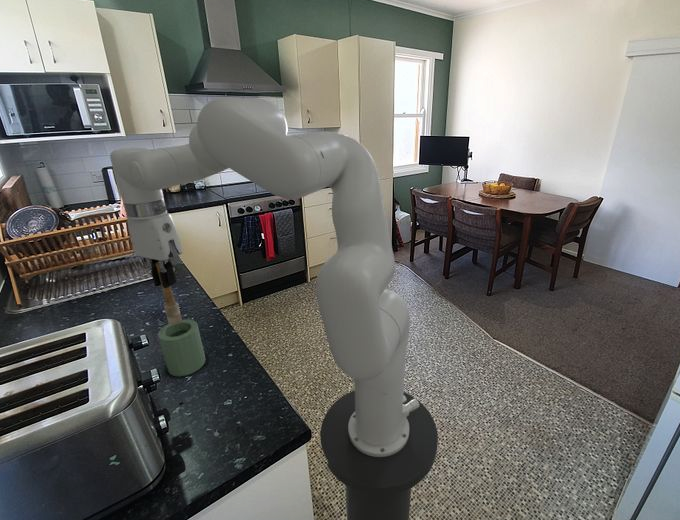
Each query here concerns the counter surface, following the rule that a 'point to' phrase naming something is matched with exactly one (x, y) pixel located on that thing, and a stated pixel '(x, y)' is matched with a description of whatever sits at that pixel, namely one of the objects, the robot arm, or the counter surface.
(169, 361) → the jar
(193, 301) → the counter surface
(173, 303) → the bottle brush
